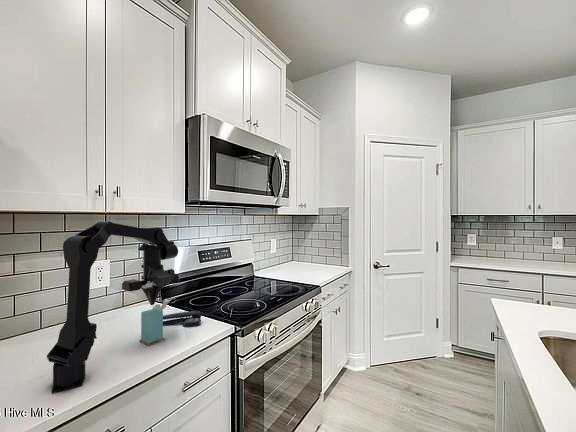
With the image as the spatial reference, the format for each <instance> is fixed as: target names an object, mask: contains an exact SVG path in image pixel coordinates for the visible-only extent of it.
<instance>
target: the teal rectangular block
mask: <svg viewBox="0 0 576 432" xmlns="http://www.w3.org/2000/svg"><path fill="white" fill-rule="evenodd" d="M140 316H141V317H140V318H141V320H140V325H141V326H140V340H143V341H145V342H147V343H152V342H155V341H157V340H160V339H163V338H164V333H163V332H164V325H163V321H164V320H163V316H164V310H163V311H161V310H158V309H155V308H154V309H153V308H151V309H148V310H144V311H141V314H140Z"/></svg>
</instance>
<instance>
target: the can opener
mask: <svg viewBox="0 0 576 432" xmlns="http://www.w3.org/2000/svg"><path fill="white" fill-rule="evenodd" d="M201 318H202V312H201V311H199V310H192V311H187V310H185V311H182V312H176V313H175V312H174V313H170V314H166V315H165V314H163V326H170V325H175V324H181V323H183V326H184V327H186V328H191V327H197V326H199V325H200V324H201V322H202V319H201Z"/></svg>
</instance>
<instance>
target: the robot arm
mask: <svg viewBox="0 0 576 432" xmlns="http://www.w3.org/2000/svg"><path fill="white" fill-rule="evenodd" d="M163 230H164V229H162V228H161V227H147V226H145V227H143V226H142V227H141V226H140V227H138V226H132V225H127V224H121V223H120V224H119V223H117V222H112V221H98V222H96V223H94V224H93V225H92V226H90V227H88V228H86V229H83V230H82V231H80V232H77V233H76V234H75V235H72V236H69V237H67V238H66V239H65V240H64V241H63V244H62V251H63V258H64V260H65V263H66V265H67V267H68V286H67V287H68V288H67V307H66V319H65V322H64V324H63V325H62V327H61V329H60V330H59V334H58V337H57V342H56V343H55V344H54V346H53V347H52V349H50V351H49V352H48V354H47V355H46V358H47V360H48V361H47V362H49V363H53V365H52V378H53V379H52V388H51V394H54V393H58V392H63V391H66V390H70V389H73V388H77V387H81V386H83V384H84V380H85V379H86V361H88V359H89V357H90V353H91V351H92V347H93V346H94V344H95V339H98V337H97V327H98V325H97V323H94V322H93V323H92V322H90V319H89V309H90V308H89V307H90V306H89V305H90V285H91V284H90V283H91V269H92V266H93V265H94V264H95V262H96V260H97V258H98V255H99V250H100V249H101V247H103V246H104V245H105V244H106V243H107V241H108V240H109V238H110V237H111V236H115V237H122V238H131V239H135V240H137V241H138V242H141V243H143V244H142V245H141V246H139V247H138V248H137V250H138V251H141V252H142V251H143V253H142V254H143V259H142V260H143V264H141V268H142V269H143V270H142V271H143V272H142V273H143V275H142V276H141V280H138V279H135V278H133V279H128V280H124V281H123V282H122V284H121V290H122V291H123V290H124V291H127V292H136V291H140V290H142V291H143V293H144V294H145V297H146V298H147V301H148V303H149V305H150V306H155V303H156V300H157V297H158V295H159V292H160V291H161V289H162V288H164V287H166V285H169V284H170V282H171V283H178V282H180V276H179V273H175V269H172V268H169V269H166V270H165V269H164V265H163V264H162V261H164V260H170V259H174V258H176V257H178V254H179V249H178V246H177V245H176V244H175V241H174V240H168V238H167V236H166V235H165V233H164V231H163Z"/></svg>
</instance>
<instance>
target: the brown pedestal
mask: <svg viewBox="0 0 576 432" xmlns="http://www.w3.org/2000/svg"><path fill="white" fill-rule="evenodd" d="M138 341H139V343H142V344H143V345H145V346H148V347H149V346H152V345H155V344H158V343H159V342H160V343H161V342H163V341H165V337H163V339H160V340H157V341H155V342H152V343H147V342H145V341H143V340H141V339H139V340H138Z"/></svg>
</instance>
